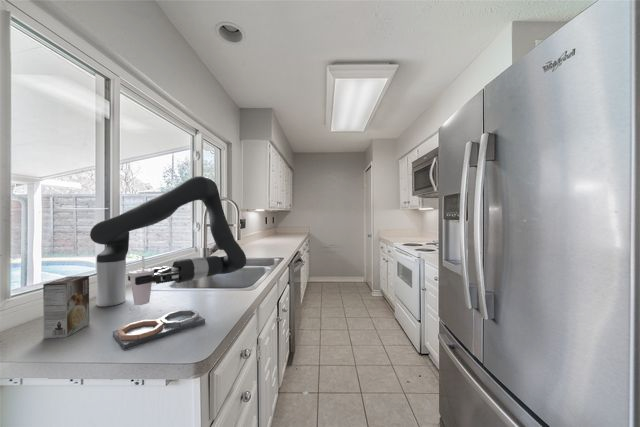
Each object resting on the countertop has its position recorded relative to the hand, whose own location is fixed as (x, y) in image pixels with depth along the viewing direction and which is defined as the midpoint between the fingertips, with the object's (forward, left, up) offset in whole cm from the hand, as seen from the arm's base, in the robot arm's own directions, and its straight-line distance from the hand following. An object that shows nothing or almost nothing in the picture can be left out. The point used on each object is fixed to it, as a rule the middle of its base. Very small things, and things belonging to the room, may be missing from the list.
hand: (132, 279), depth 75 cm
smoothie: (0, +2, -8) cm, 8 cm away
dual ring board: (0, +8, -17) cm, 19 cm away
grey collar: (0, +13, -16) cm, 21 cm away
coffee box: (-21, -11, -18) cm, 30 cm away
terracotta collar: (0, +2, -16) cm, 16 cm away
